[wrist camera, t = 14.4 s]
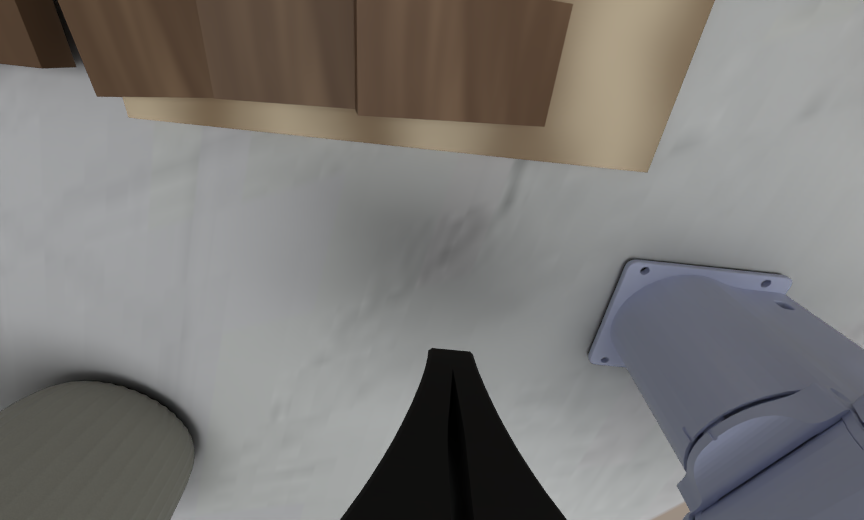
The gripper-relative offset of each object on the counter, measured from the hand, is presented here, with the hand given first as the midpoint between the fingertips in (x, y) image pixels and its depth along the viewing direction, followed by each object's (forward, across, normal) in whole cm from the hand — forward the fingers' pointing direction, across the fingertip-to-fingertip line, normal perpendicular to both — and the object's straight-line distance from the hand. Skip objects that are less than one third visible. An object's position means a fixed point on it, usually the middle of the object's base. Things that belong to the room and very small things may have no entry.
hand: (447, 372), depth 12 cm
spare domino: (+9, -3, -9) cm, 13 cm away
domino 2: (+9, +2, -9) cm, 13 cm away
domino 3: (+9, +8, -9) cm, 15 cm away
